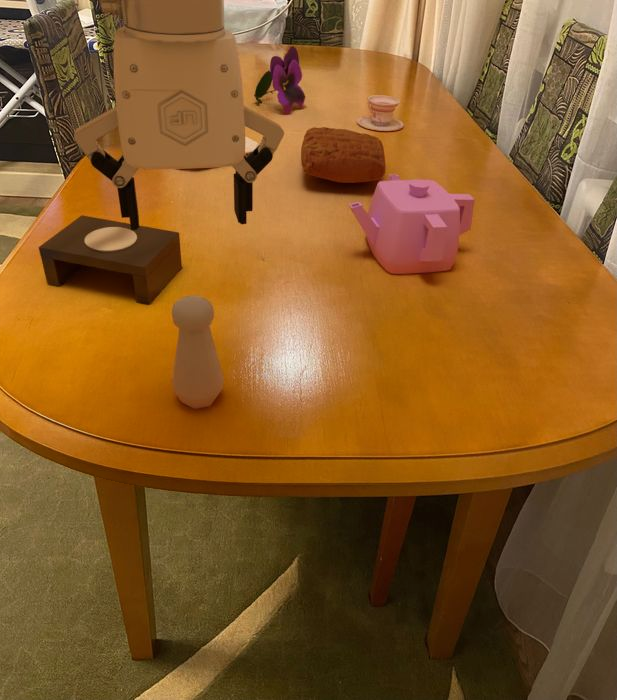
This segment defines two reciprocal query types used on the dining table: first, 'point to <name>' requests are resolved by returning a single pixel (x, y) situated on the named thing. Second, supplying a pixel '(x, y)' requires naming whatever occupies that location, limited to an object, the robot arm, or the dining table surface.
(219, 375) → the salt shaker
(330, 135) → the inscribed clay slab
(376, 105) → the teacup
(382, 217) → the teakettle
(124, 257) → the shelf
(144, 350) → the dining table surface
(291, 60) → the flower
